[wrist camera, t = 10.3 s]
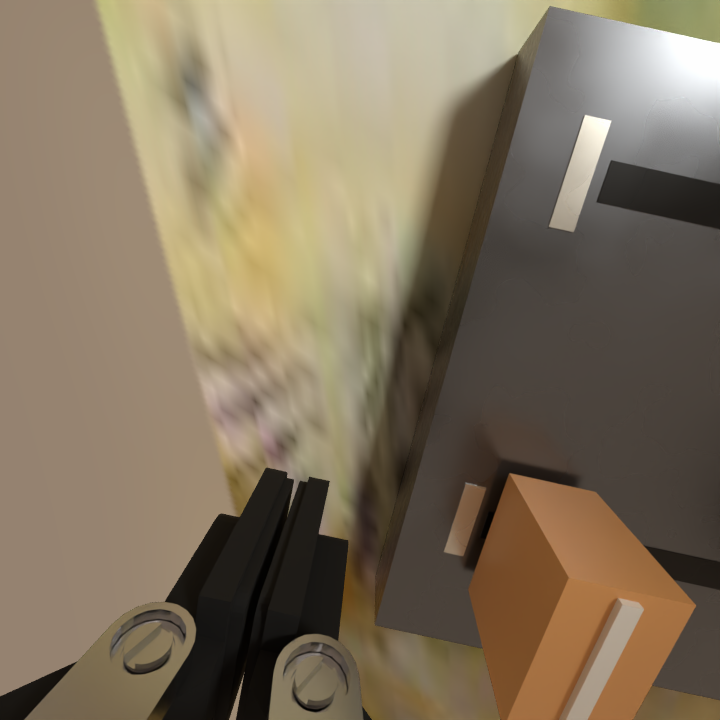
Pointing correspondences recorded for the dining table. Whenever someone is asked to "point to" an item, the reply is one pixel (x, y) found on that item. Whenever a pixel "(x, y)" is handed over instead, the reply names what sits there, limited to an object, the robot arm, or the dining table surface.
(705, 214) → the console
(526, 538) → the orange fader
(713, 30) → the dining table surface
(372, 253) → the dining table surface
